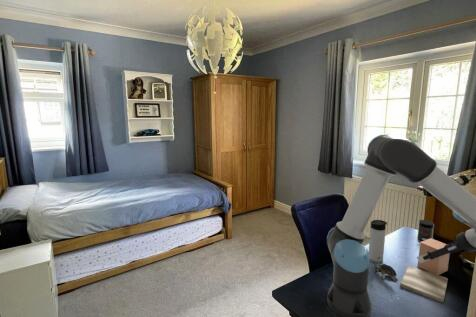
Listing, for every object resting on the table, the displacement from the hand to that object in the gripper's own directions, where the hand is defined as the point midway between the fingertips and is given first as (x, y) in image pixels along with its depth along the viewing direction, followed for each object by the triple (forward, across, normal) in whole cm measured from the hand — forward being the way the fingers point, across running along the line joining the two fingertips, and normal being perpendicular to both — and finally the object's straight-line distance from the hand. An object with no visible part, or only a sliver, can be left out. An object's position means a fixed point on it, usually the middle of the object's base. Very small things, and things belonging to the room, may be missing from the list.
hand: (428, 256), depth 120 cm
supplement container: (+14, +24, +7) cm, 28 cm away
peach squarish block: (+2, 0, -5) cm, 5 cm away
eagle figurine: (+6, -24, -1) cm, 25 cm away
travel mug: (+13, -16, +6) cm, 22 cm away
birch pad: (-1, -14, -8) cm, 17 cm away
